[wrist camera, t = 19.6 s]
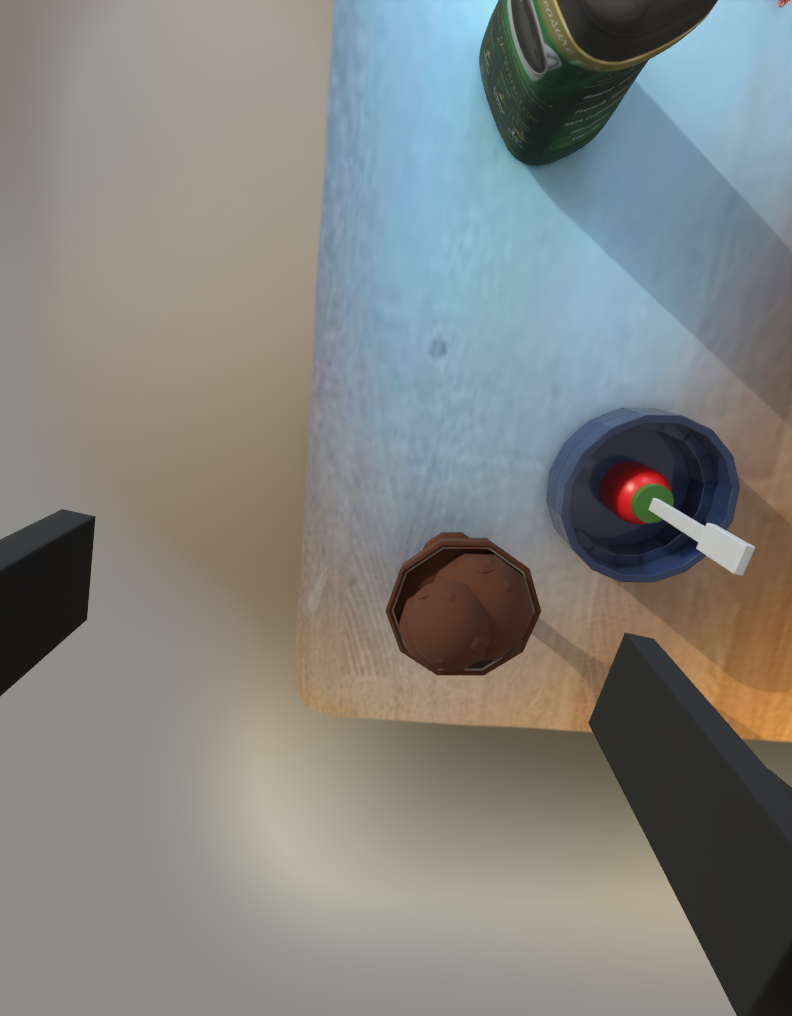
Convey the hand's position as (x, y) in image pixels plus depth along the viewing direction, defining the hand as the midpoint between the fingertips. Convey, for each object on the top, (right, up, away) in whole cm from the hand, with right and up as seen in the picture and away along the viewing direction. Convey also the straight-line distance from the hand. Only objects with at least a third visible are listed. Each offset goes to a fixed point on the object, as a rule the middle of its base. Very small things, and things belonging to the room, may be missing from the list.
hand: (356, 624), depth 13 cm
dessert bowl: (+20, +5, +33) cm, 39 cm away
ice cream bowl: (+6, -2, +35) cm, 35 cm away
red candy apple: (+20, +5, +32) cm, 38 cm away
